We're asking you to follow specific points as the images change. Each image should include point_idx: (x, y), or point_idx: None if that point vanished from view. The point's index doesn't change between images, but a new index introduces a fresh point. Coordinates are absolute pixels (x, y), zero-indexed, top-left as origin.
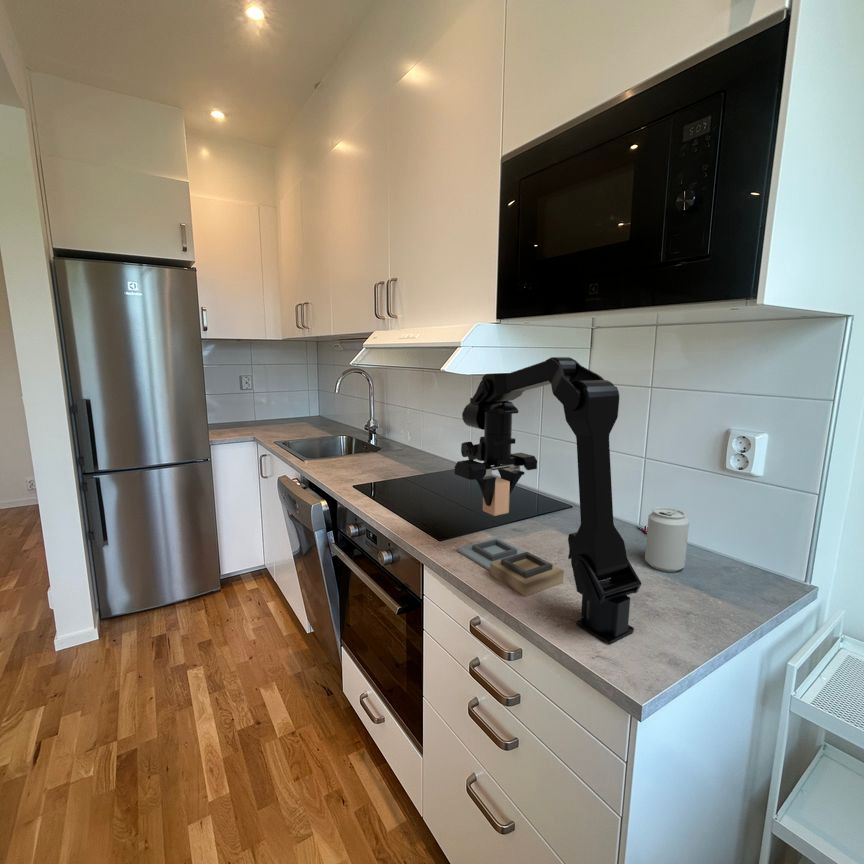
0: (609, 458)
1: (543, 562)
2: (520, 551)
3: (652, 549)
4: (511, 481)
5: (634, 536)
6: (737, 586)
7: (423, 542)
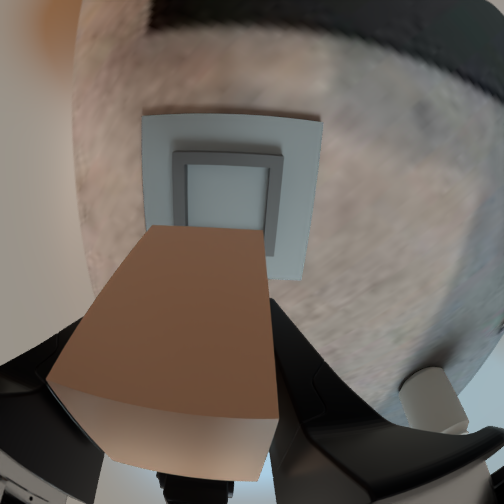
0: None
1: None
2: (294, 244)
3: (411, 405)
4: (276, 477)
5: (500, 304)
6: (401, 419)
7: (105, 26)
